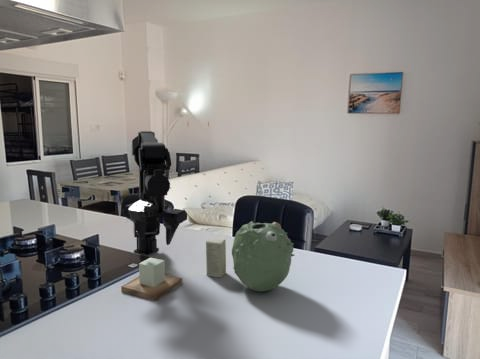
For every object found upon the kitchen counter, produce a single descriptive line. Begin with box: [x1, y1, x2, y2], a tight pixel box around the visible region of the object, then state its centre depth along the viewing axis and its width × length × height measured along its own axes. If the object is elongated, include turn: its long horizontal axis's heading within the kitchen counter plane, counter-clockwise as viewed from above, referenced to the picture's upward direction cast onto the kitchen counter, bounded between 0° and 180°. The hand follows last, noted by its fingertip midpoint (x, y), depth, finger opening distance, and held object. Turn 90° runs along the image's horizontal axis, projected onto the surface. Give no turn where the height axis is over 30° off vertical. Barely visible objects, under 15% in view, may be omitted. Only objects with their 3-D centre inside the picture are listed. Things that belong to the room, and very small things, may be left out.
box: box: [205, 237, 227, 278], centre depth 112 cm, size 5×4×11 cm
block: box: [138, 257, 166, 287], centre depth 103 cm, size 5×5×6 cm
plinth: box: [120, 273, 183, 302], centre depth 103 cm, size 12×12×2 cm
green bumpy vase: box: [231, 220, 296, 293], centre depth 102 cm, size 16×19×20 cm
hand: (155, 241), depth 104 cm, fingers open, 9 cm apart
